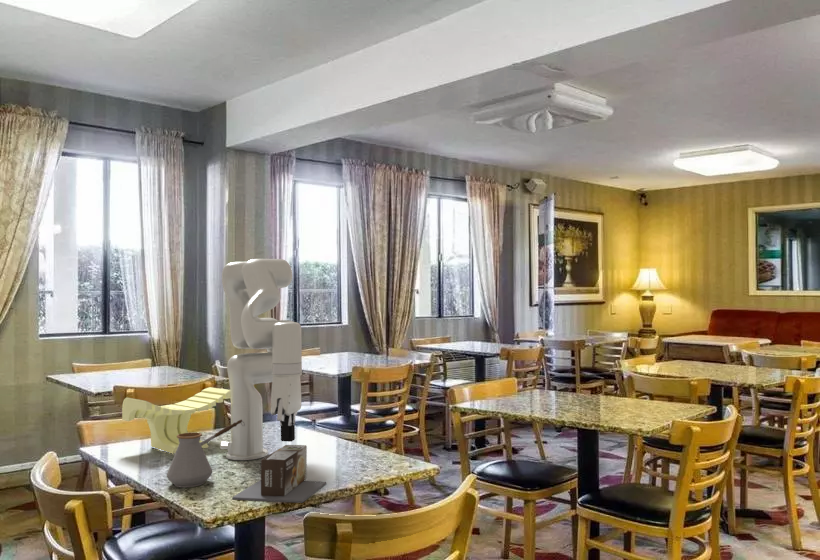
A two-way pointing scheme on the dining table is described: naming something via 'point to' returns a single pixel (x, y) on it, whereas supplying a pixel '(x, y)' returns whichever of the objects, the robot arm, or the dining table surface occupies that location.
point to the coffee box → (283, 470)
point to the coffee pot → (192, 459)
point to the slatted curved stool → (171, 416)
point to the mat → (295, 495)
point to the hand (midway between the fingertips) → (287, 440)
